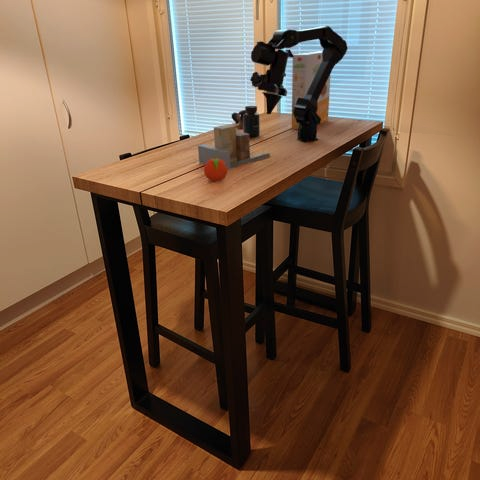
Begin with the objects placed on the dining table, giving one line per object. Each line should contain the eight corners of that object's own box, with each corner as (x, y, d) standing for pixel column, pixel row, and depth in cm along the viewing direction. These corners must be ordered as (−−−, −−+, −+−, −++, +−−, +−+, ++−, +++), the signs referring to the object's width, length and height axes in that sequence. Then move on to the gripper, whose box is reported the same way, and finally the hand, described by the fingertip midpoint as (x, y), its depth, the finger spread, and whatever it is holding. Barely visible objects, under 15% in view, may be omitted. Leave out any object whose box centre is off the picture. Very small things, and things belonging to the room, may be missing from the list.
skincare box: (223, 166, 141) (220, 129, 135) (215, 163, 144) (212, 127, 138) (238, 161, 144) (236, 125, 139) (230, 159, 147) (227, 123, 142)
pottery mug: (258, 125, 200) (258, 111, 193) (249, 138, 196) (250, 124, 189) (235, 117, 203) (235, 103, 196) (226, 130, 198) (225, 116, 191)
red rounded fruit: (230, 184, 124) (229, 160, 121) (207, 187, 123) (205, 163, 120) (225, 176, 131) (224, 153, 128) (203, 178, 130) (201, 156, 127)
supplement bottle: (258, 138, 175) (257, 107, 170) (242, 137, 176) (240, 107, 171) (261, 134, 181) (260, 104, 176) (245, 134, 182) (244, 105, 177)
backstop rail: (245, 150, 158) (244, 134, 155) (272, 157, 149) (272, 139, 146) (199, 162, 146) (197, 145, 143) (225, 170, 136) (224, 152, 134)
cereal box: (316, 119, 204) (318, 51, 190) (328, 121, 200) (331, 51, 187) (291, 129, 188) (292, 54, 174) (304, 130, 184) (306, 54, 171)
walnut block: (232, 155, 152) (231, 130, 148) (250, 160, 145) (249, 133, 141) (224, 158, 149) (222, 132, 145) (241, 163, 143) (240, 136, 139)
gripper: (263, 68, 161) (254, 111, 165) (248, 61, 144) (239, 108, 148) (291, 73, 158) (282, 116, 163) (279, 66, 141) (269, 114, 145)
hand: (268, 114), depth 155 cm, fingers closed
